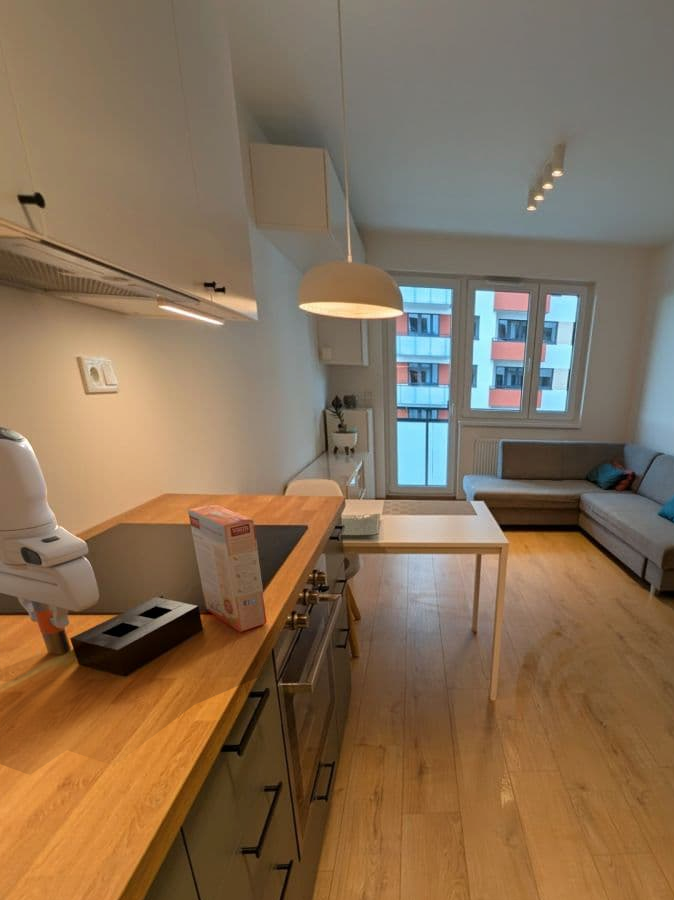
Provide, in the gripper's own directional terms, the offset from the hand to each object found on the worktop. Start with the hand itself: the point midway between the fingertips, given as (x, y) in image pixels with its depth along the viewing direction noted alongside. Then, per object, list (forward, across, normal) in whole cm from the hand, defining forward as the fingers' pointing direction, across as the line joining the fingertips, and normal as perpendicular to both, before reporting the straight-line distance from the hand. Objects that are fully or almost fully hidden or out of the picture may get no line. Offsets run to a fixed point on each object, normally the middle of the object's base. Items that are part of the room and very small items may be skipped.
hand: (51, 623), depth 81 cm
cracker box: (+7, +15, +24) cm, 29 cm away
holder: (+7, +8, +8) cm, 14 cm away
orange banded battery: (+5, 0, 0) cm, 5 cm away
